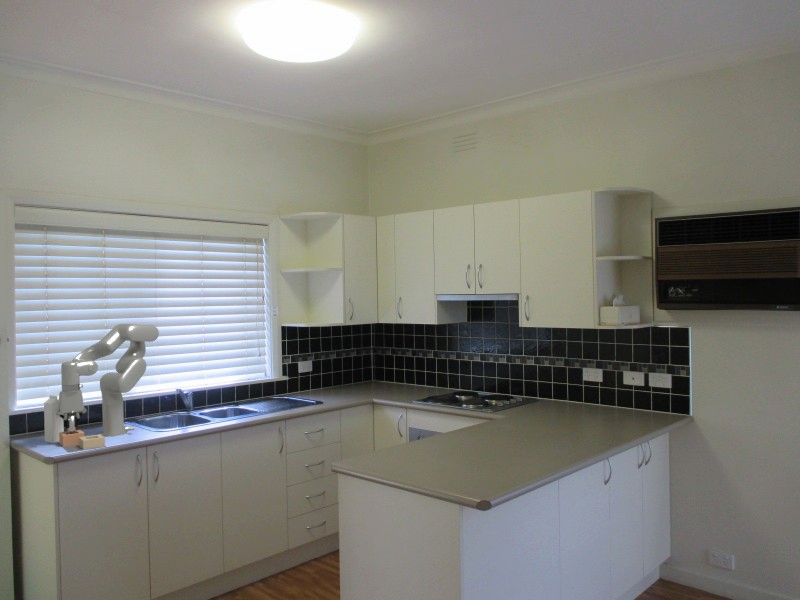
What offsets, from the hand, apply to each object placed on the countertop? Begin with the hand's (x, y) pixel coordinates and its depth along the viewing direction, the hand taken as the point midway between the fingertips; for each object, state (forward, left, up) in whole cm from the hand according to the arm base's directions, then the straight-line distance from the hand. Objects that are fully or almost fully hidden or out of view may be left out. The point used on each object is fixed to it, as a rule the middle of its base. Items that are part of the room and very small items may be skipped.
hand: (71, 427), depth 307 cm
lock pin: (0, 0, -6) cm, 6 cm away
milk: (+4, -17, -9) cm, 20 cm away
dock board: (-3, +6, -9) cm, 11 cm away
